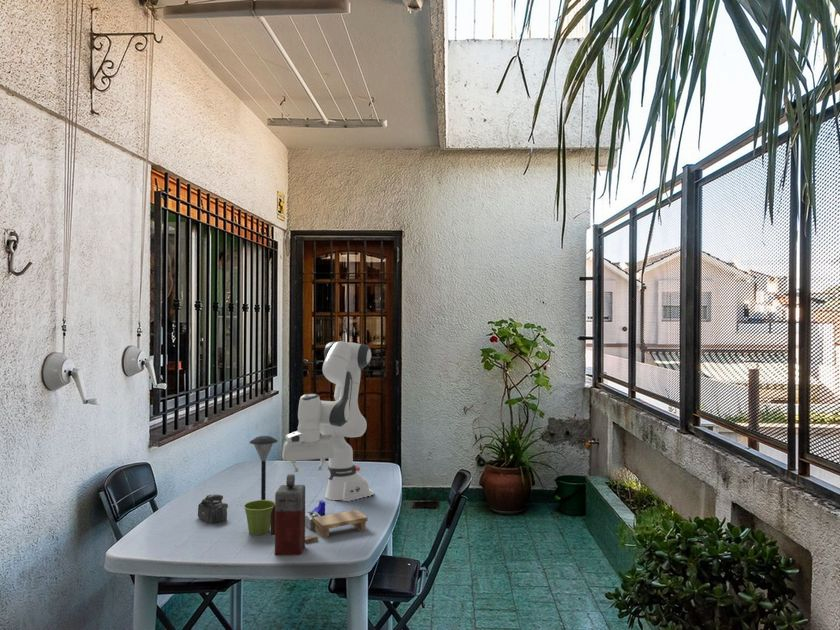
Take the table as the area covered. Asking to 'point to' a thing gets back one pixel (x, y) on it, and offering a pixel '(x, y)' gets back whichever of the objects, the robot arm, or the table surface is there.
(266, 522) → the plant pot
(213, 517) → the camera
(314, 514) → the housing
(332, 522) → the stand
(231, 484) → the table surface
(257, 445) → the solar garden light
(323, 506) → the blue curved block
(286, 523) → the red grey canister
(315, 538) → the tan wooden block
